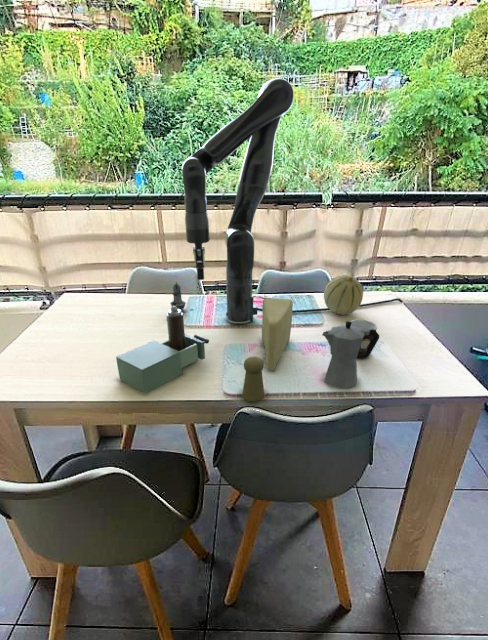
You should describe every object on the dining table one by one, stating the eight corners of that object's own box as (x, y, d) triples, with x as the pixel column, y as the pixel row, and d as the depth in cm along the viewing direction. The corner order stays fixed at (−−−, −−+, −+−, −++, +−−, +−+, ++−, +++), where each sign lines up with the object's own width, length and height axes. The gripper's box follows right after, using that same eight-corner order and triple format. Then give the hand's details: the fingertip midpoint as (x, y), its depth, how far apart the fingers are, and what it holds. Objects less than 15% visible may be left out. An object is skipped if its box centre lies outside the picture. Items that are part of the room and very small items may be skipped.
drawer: (192, 343, 136) (191, 327, 133) (215, 353, 131) (214, 336, 128) (151, 363, 125) (149, 346, 122) (174, 374, 119) (173, 356, 116)
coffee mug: (372, 350, 134) (378, 321, 129) (370, 362, 127) (376, 332, 122) (336, 345, 137) (340, 317, 132) (332, 356, 130) (336, 327, 125)
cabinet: (156, 362, 127) (153, 340, 123) (182, 374, 121) (180, 351, 117) (119, 379, 118) (115, 356, 115) (145, 393, 112) (142, 369, 108)
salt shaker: (187, 309, 165) (185, 279, 158) (184, 315, 160) (182, 284, 153) (173, 308, 165) (170, 279, 159) (169, 314, 160) (166, 284, 154)
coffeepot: (320, 389, 114) (327, 329, 105) (314, 372, 122) (320, 315, 113) (376, 388, 114) (388, 328, 105) (366, 371, 123) (376, 314, 113)
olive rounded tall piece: (241, 389, 114) (241, 353, 108) (263, 388, 114) (264, 353, 109) (243, 402, 109) (243, 365, 103) (265, 400, 109) (267, 364, 104)
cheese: (287, 372, 122) (290, 325, 114) (254, 370, 123) (254, 323, 115) (290, 340, 141) (293, 297, 133) (261, 338, 142) (262, 296, 134)
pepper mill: (185, 351, 129) (182, 302, 121) (186, 358, 125) (182, 308, 117) (170, 352, 129) (165, 303, 120) (170, 359, 125) (165, 309, 116)
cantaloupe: (331, 303, 171) (336, 267, 163) (366, 311, 163) (372, 273, 156) (315, 314, 160) (318, 276, 153) (350, 323, 153) (356, 283, 145)
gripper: (209, 229, 129) (212, 281, 137) (208, 223, 142) (210, 270, 150) (185, 230, 129) (189, 282, 136) (185, 223, 141) (189, 271, 149)
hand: (200, 276), depth 143 cm, fingers open, 8 cm apart
